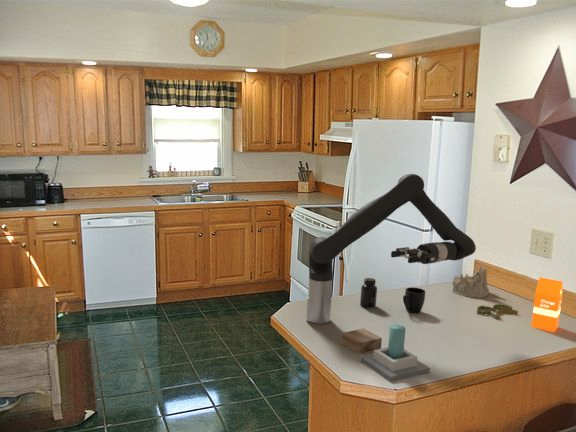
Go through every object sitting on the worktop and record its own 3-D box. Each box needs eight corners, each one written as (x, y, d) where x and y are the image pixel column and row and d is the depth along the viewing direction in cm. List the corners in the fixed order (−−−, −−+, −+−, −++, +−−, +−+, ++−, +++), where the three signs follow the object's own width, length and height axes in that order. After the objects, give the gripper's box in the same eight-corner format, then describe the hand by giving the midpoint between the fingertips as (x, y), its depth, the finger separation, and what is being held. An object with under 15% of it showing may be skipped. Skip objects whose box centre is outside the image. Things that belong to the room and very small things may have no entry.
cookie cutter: (494, 321, 229) (494, 316, 229) (470, 312, 239) (471, 307, 239) (521, 314, 238) (521, 310, 238) (497, 306, 248) (498, 302, 248)
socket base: (390, 381, 171) (391, 367, 170) (360, 360, 185) (361, 348, 184) (429, 372, 179) (431, 359, 178) (398, 353, 193) (399, 340, 192)
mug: (394, 312, 233) (396, 291, 232) (411, 307, 241) (413, 286, 239) (410, 318, 227) (412, 296, 226) (427, 312, 235) (429, 291, 233)
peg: (387, 364, 180) (390, 329, 177) (386, 358, 184) (389, 324, 182) (403, 366, 179) (406, 330, 177) (402, 359, 184) (404, 325, 182)
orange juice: (535, 321, 230) (541, 275, 226) (558, 326, 225) (564, 279, 221) (531, 326, 223) (537, 279, 220) (554, 332, 218) (561, 283, 215)
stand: (359, 354, 190) (360, 343, 190) (341, 343, 199) (341, 333, 198) (381, 348, 196) (381, 337, 195) (362, 338, 204) (363, 328, 203)
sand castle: (493, 292, 267) (494, 262, 265) (479, 301, 255) (480, 269, 253) (462, 286, 278) (462, 257, 275) (447, 295, 265) (448, 264, 263)
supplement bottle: (375, 309, 236) (377, 282, 234) (359, 307, 237) (361, 280, 235) (376, 304, 243) (378, 278, 241) (360, 302, 244) (362, 276, 242)
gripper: (418, 239, 210) (387, 242, 201) (447, 247, 198) (415, 251, 190) (417, 258, 211) (385, 262, 203) (446, 267, 200) (413, 272, 191)
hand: (400, 257), depth 196 cm, fingers open, 8 cm apart
